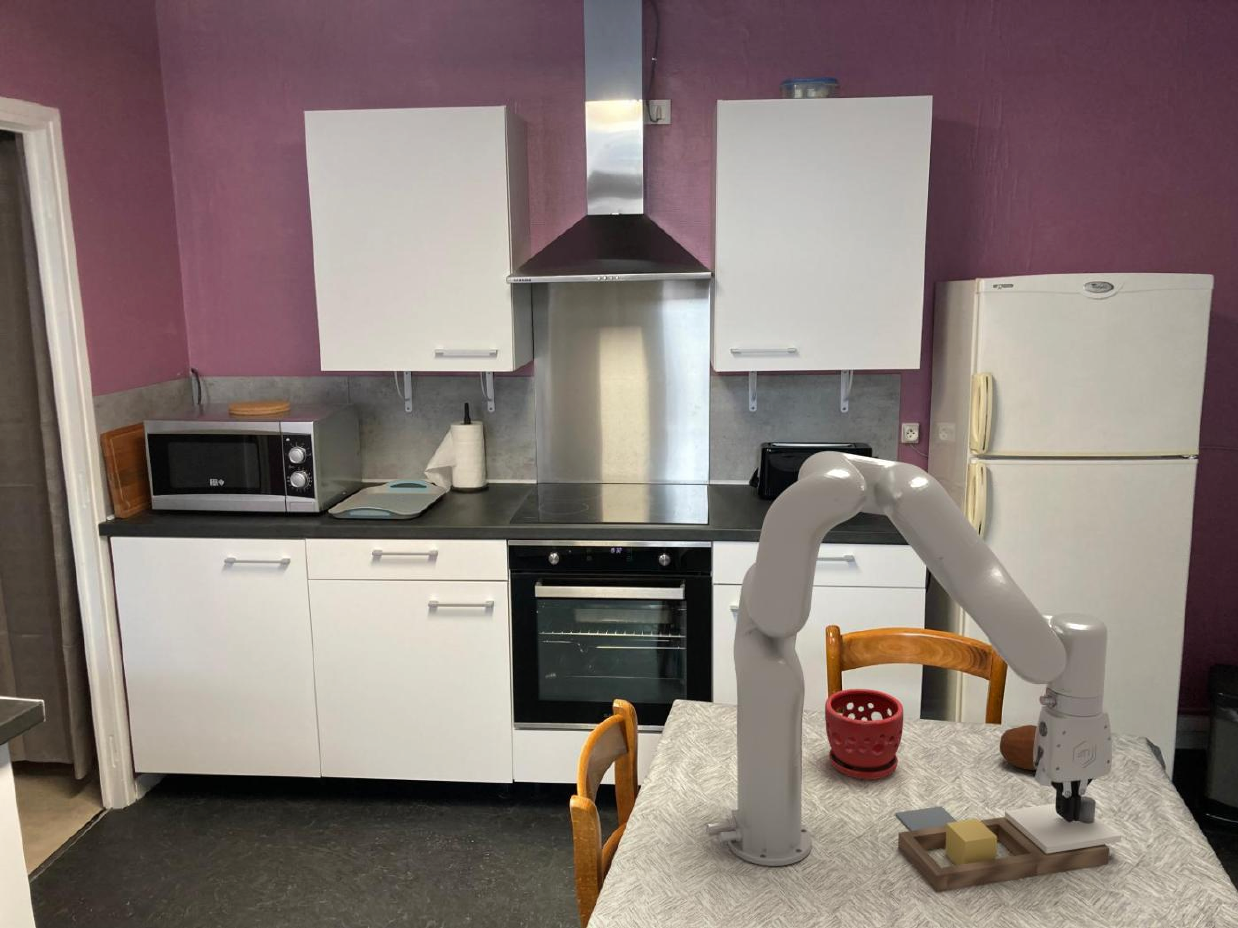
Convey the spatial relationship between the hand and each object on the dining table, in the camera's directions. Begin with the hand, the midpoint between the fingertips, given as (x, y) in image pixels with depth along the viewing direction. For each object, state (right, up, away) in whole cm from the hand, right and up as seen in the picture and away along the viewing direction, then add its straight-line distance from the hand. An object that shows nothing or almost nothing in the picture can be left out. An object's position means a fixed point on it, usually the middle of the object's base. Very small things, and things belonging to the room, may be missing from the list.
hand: (1067, 816), depth 143 cm
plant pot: (-24, -1, +26) cm, 35 cm away
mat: (-18, -4, +7) cm, 20 cm away
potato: (+5, -1, +25) cm, 25 cm away
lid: (-1, -2, 0) cm, 2 cm away
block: (-15, -6, -2) cm, 16 cm away
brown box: (-10, -5, -1) cm, 12 cm away
